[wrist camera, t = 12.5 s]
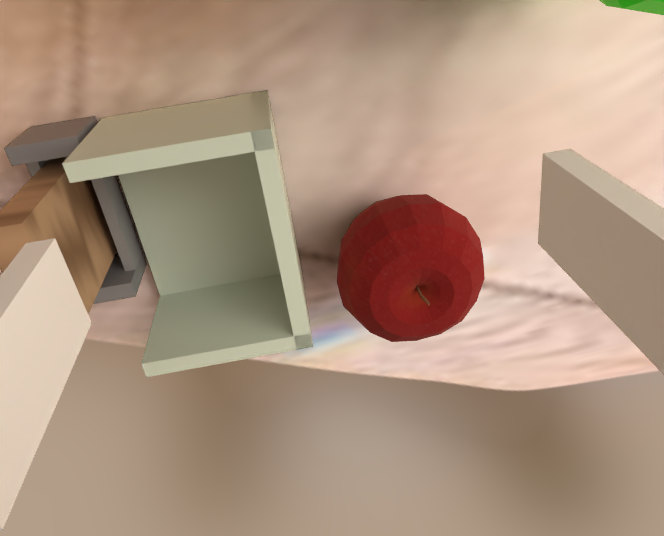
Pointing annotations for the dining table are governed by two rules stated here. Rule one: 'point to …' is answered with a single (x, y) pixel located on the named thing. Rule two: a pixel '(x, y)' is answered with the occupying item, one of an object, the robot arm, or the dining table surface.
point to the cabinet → (192, 224)
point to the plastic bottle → (638, 5)
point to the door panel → (60, 226)
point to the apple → (409, 268)
